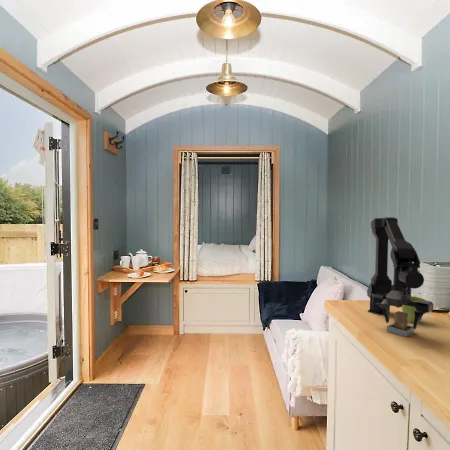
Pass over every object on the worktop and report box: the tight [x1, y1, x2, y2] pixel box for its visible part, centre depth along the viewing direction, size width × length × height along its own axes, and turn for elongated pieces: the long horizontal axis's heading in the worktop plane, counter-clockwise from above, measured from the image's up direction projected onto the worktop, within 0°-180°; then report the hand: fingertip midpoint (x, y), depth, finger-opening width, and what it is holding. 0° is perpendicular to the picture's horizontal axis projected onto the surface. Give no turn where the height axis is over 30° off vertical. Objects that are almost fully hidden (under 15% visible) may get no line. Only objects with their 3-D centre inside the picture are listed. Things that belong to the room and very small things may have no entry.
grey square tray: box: [386, 322, 416, 338], centre depth 126 cm, size 7×7×2 cm
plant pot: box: [401, 296, 428, 324], centre depth 139 cm, size 9×9×9 cm
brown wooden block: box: [393, 310, 408, 330], centre depth 126 cm, size 3×3×7 cm
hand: (400, 325), depth 126 cm, fingers open, 9 cm apart
